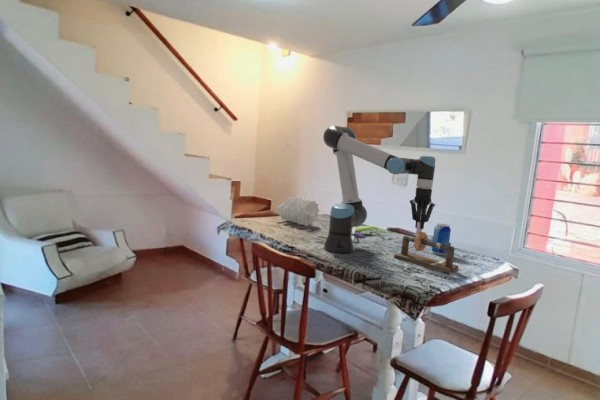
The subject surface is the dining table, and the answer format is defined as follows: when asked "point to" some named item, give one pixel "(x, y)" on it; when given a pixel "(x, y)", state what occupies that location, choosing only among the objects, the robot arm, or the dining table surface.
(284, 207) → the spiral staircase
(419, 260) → the pipe stand
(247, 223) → the dining table surface
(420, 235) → the ring
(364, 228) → the figurine
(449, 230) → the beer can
